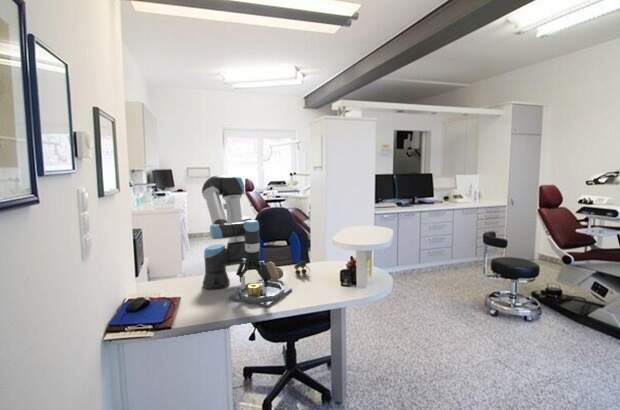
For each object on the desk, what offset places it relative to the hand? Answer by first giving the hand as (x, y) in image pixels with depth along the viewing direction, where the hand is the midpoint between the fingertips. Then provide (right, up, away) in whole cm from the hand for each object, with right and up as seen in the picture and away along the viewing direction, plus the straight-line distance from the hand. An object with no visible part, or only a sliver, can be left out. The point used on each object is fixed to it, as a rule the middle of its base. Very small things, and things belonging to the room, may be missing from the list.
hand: (253, 290), depth 173 cm
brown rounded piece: (+6, -1, +29) cm, 30 cm away
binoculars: (+24, 0, +38) cm, 45 cm away
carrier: (+3, -4, +6) cm, 8 cm away
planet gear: (0, -3, 0) cm, 3 cm away
